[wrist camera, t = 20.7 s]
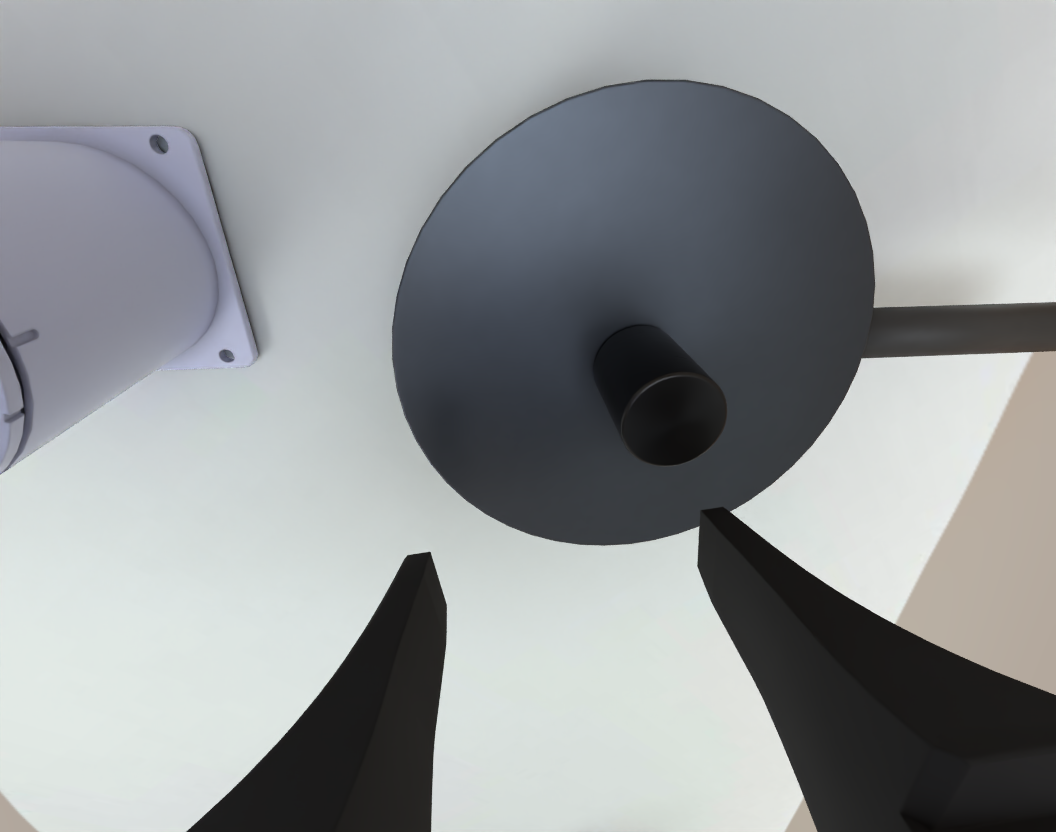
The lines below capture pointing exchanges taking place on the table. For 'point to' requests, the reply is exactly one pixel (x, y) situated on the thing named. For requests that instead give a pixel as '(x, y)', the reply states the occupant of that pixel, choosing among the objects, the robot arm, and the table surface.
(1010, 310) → the pan handle
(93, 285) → the robot arm
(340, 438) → the table surface
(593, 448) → the lid
